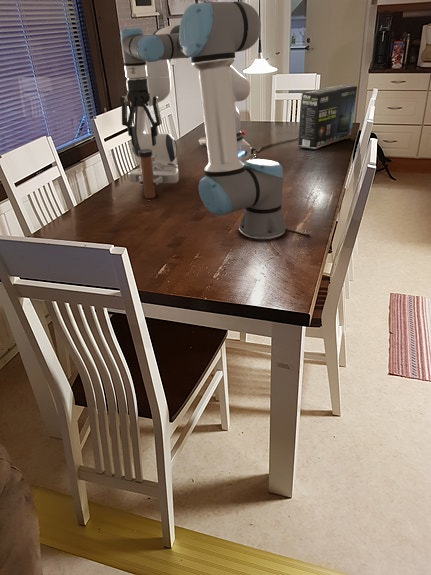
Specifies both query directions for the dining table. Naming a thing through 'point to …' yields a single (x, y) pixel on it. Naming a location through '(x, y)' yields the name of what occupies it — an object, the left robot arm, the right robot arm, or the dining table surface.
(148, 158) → the jar
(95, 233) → the dining table surface
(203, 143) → the fossil
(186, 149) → the dining table surface
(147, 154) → the lid
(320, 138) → the router box
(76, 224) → the dining table surface
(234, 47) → the right robot arm
